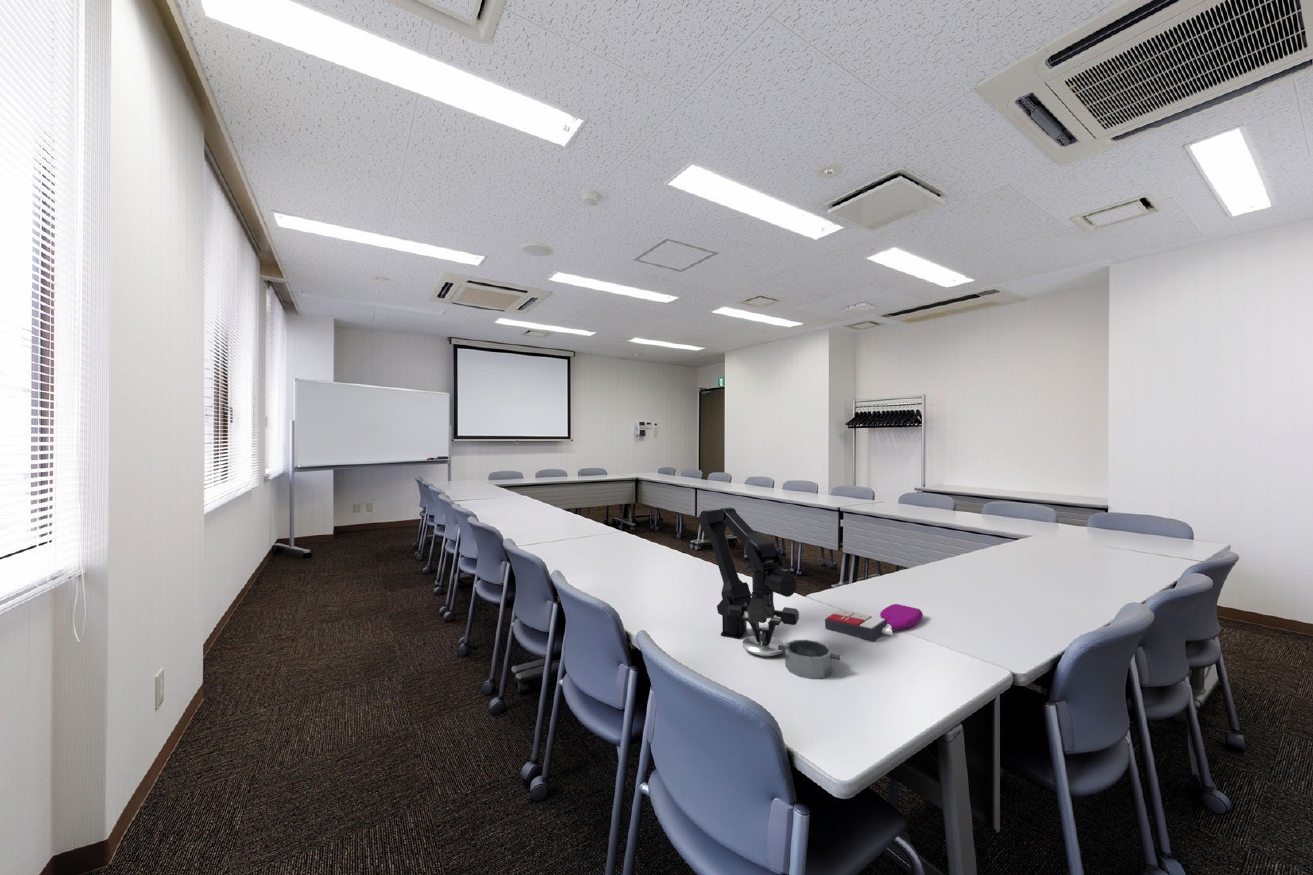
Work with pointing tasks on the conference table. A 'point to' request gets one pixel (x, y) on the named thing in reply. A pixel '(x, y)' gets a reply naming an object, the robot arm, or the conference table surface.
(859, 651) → the conference table surface
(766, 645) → the lid
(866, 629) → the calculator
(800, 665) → the pot
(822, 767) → the conference table surface
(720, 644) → the conference table surface
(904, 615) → the purple squeeze pouch
